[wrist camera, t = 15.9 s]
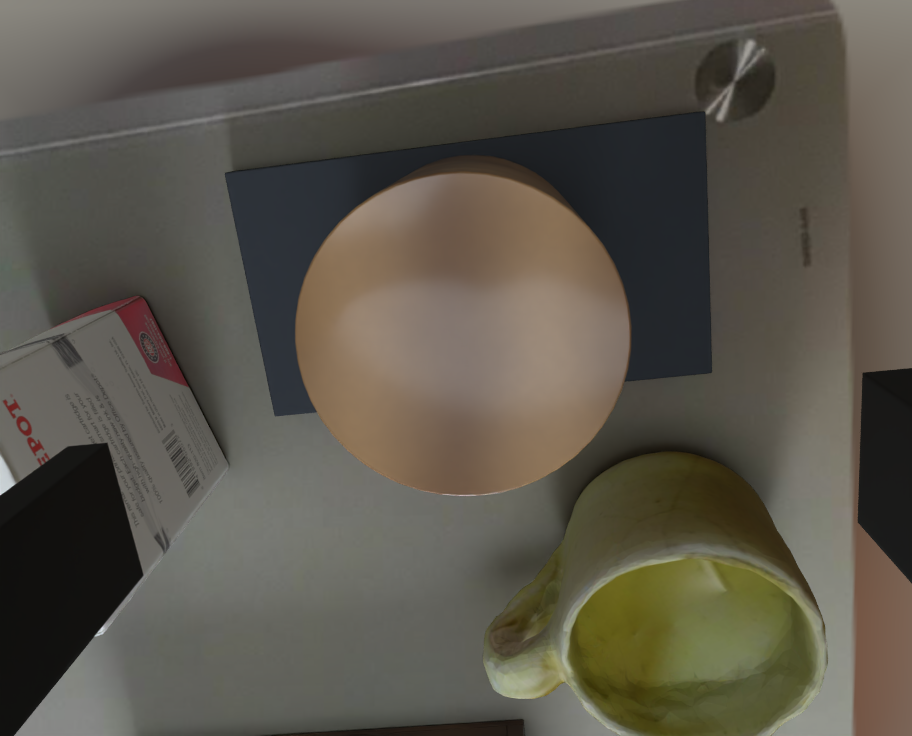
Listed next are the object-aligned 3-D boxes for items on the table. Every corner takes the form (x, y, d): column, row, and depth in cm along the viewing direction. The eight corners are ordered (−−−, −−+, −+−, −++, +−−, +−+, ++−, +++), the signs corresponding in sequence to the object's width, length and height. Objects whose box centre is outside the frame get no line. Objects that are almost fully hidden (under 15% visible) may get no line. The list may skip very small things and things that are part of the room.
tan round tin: (580, 140, 28) (621, 149, 19) (597, 371, 31) (640, 482, 22) (340, 170, 29) (264, 194, 20) (377, 393, 32) (325, 510, 22)
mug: (804, 404, 30) (856, 623, 22) (784, 574, 36) (819, 795, 28) (496, 404, 33) (447, 596, 25) (523, 561, 39) (491, 756, 31)
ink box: (46, 326, 33) (-191, 434, 21) (147, 288, 32) (-43, 379, 21) (138, 501, 35) (-31, 680, 24) (235, 469, 34) (108, 639, 23)
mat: (698, 111, 29) (705, 111, 28) (705, 366, 32) (712, 373, 31) (232, 171, 30) (223, 172, 29) (280, 408, 33) (274, 416, 32)
